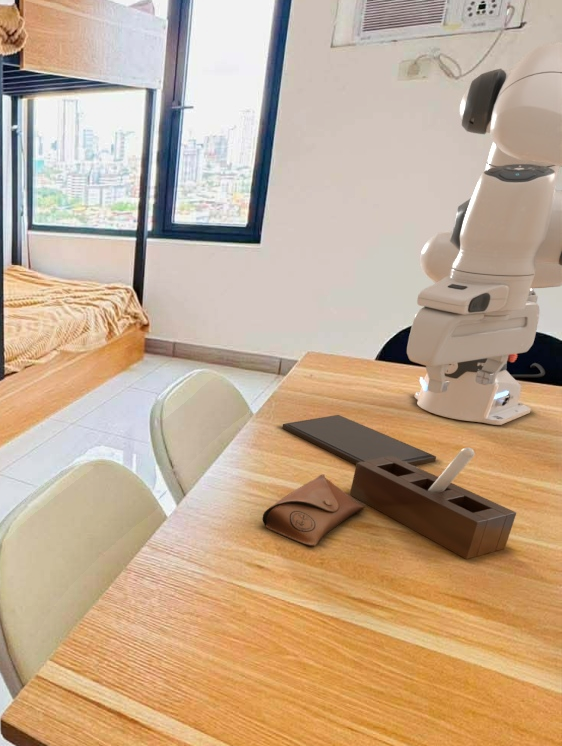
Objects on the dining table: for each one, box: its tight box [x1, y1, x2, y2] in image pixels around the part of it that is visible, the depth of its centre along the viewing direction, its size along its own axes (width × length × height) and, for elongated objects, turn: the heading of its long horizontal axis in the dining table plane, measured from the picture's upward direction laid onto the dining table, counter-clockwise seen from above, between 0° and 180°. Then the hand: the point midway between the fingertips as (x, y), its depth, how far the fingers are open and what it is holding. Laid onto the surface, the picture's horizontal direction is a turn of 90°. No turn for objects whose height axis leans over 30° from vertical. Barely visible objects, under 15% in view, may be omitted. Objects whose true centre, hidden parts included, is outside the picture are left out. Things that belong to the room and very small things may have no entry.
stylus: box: [427, 447, 476, 494], centre depth 94 cm, size 2×2×15 cm
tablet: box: [281, 414, 437, 466], centre depth 124 cm, size 15×22×1 cm
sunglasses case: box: [262, 474, 366, 547], centre depth 98 cm, size 18×7×7 cm
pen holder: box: [349, 456, 517, 560], centre depth 97 cm, size 8×19×6 cm, turn 18°
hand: (460, 387), depth 90 cm, fingers open, 8 cm apart
